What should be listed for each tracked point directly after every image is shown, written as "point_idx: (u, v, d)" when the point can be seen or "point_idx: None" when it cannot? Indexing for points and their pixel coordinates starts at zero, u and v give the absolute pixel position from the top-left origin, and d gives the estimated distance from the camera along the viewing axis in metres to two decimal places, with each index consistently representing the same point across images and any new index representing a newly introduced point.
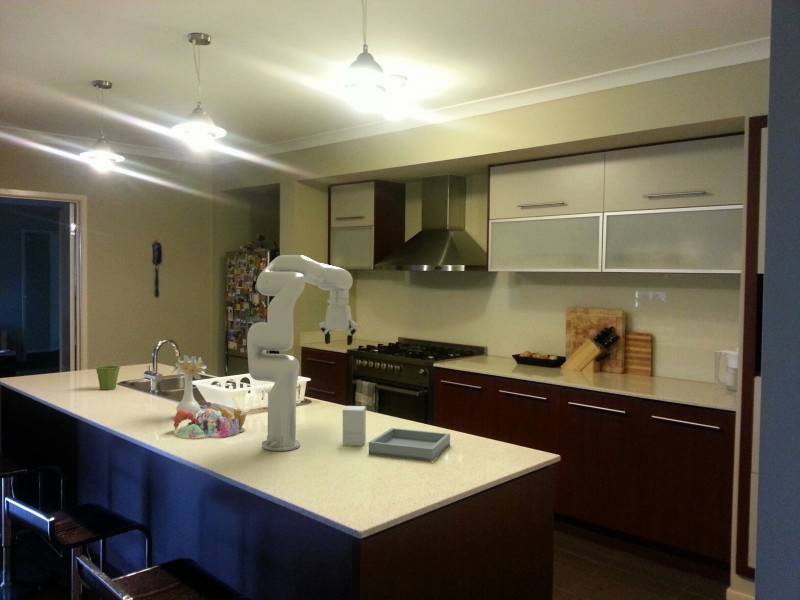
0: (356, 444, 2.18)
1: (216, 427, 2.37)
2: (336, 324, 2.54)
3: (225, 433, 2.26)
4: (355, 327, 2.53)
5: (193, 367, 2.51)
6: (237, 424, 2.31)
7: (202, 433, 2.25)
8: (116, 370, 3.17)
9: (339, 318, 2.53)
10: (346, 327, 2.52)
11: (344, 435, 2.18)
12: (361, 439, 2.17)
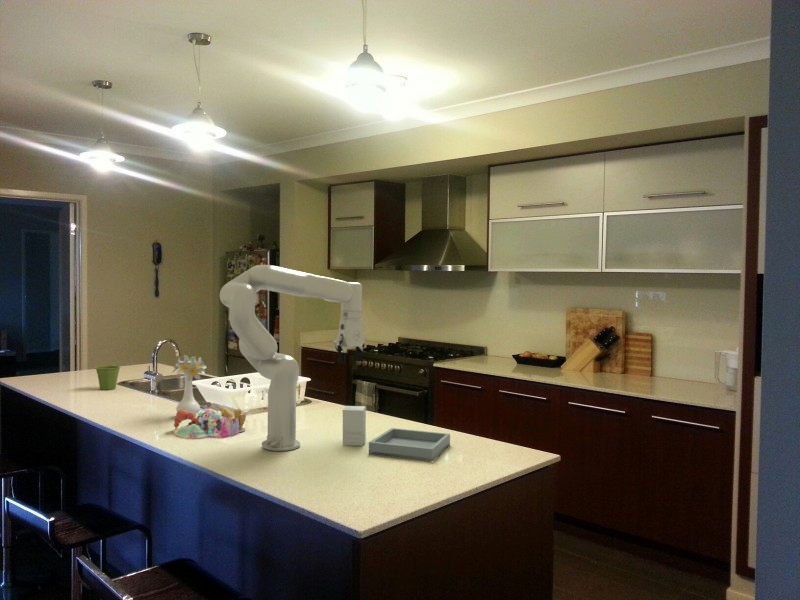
0: (356, 444, 2.18)
1: (216, 427, 2.37)
2: (356, 340, 2.29)
3: (225, 433, 2.27)
4: (364, 341, 2.37)
5: (193, 367, 2.51)
6: (237, 424, 2.31)
7: (202, 433, 2.25)
8: (116, 370, 3.17)
9: (359, 332, 2.30)
10: (363, 342, 2.33)
11: (344, 435, 2.18)
12: (361, 439, 2.17)
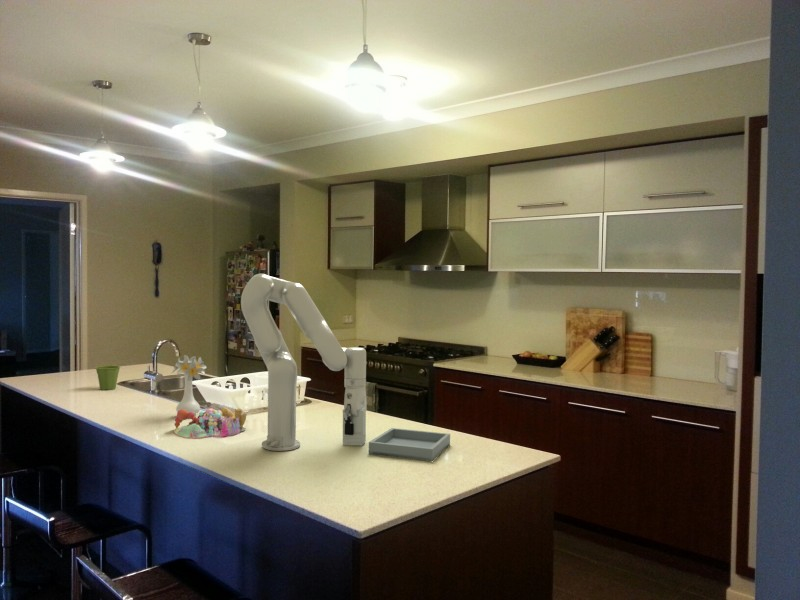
0: (356, 444, 2.18)
1: (217, 426, 2.38)
2: None
3: (226, 432, 2.27)
4: None
5: (193, 367, 2.51)
6: (238, 423, 2.32)
7: (203, 432, 2.26)
8: (116, 370, 3.17)
9: (363, 400, 2.21)
10: (366, 408, 2.24)
11: (344, 435, 2.18)
12: (361, 439, 2.17)
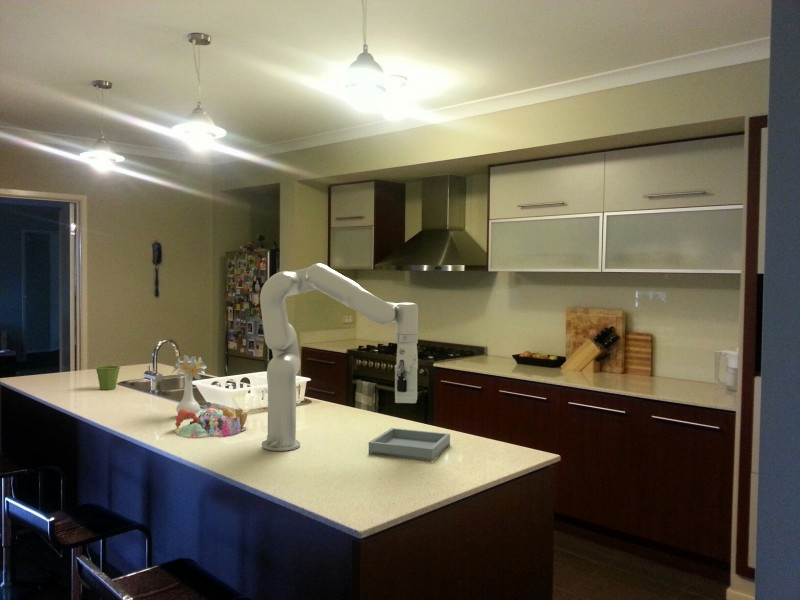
0: (409, 401, 2.11)
1: (218, 426, 2.38)
2: (414, 364, 2.14)
3: (227, 432, 2.28)
4: None
5: (193, 367, 2.51)
6: (239, 423, 2.33)
7: (204, 432, 2.27)
8: (116, 370, 3.17)
9: (415, 356, 2.15)
10: None
11: (396, 392, 2.11)
12: (414, 396, 2.11)
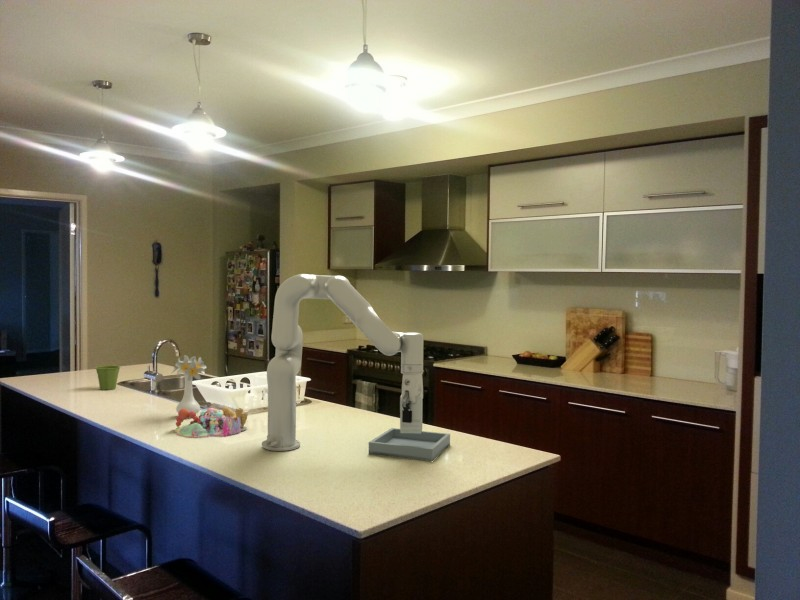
0: (414, 432, 2.10)
1: (218, 426, 2.39)
2: None
3: (227, 432, 2.28)
4: None
5: (193, 367, 2.51)
6: (239, 423, 2.33)
7: (204, 432, 2.27)
8: (116, 370, 3.17)
9: (420, 386, 2.14)
10: None
11: (402, 423, 2.11)
12: (419, 427, 2.10)
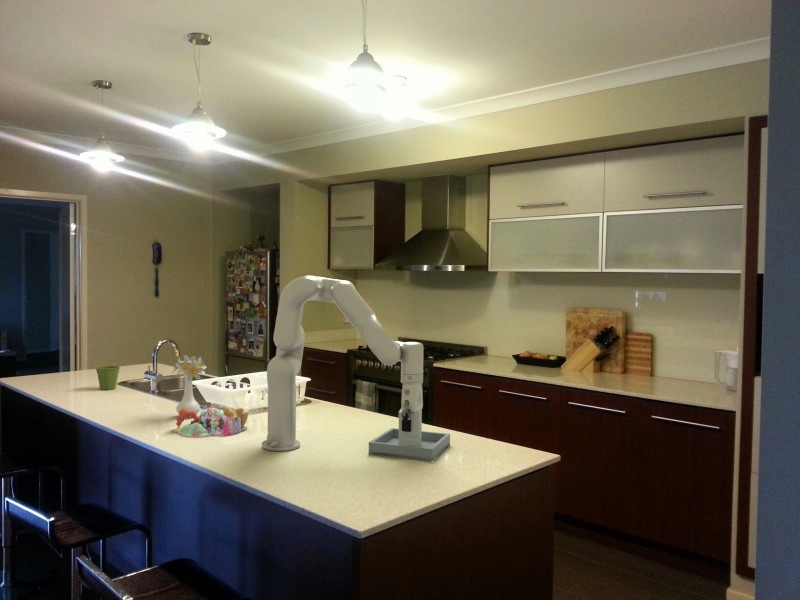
0: None
1: (218, 426, 2.39)
2: (419, 404, 2.13)
3: (228, 432, 2.29)
4: None
5: (193, 367, 2.51)
6: (239, 423, 2.33)
7: (205, 432, 2.27)
8: (116, 370, 3.17)
9: (420, 396, 2.14)
10: None
11: (400, 438, 2.11)
12: (418, 442, 2.10)
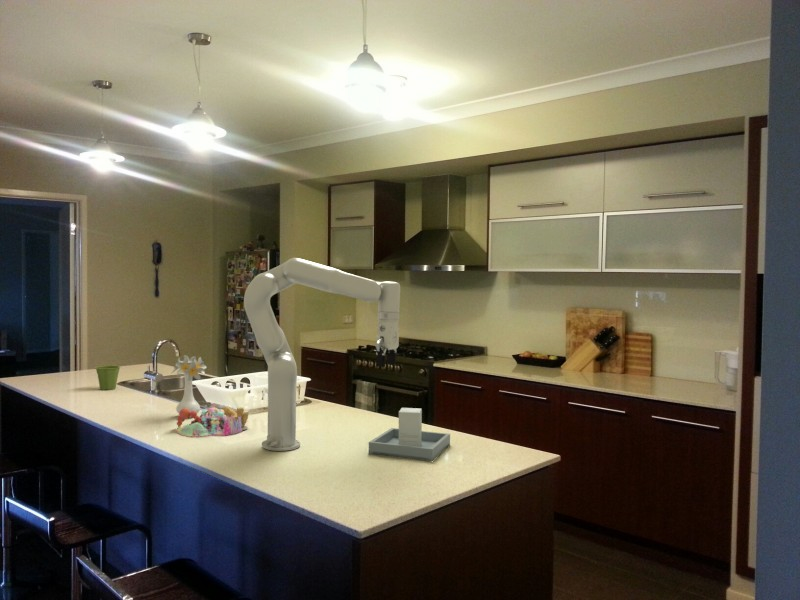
0: None
1: (219, 425, 2.40)
2: (394, 342, 2.20)
3: (228, 431, 2.29)
4: None
5: (193, 367, 2.51)
6: (240, 422, 2.34)
7: (206, 431, 2.28)
8: (116, 370, 3.17)
9: (396, 334, 2.21)
10: (398, 344, 2.24)
11: (400, 438, 2.11)
12: (418, 442, 2.10)
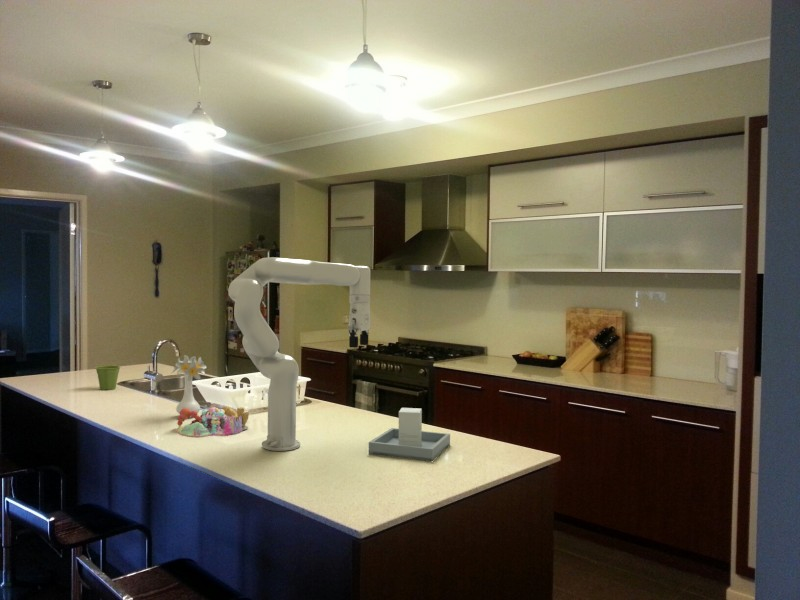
0: None
1: (219, 425, 2.40)
2: (366, 323, 2.30)
3: (229, 431, 2.30)
4: None
5: (193, 367, 2.51)
6: (240, 422, 2.34)
7: (206, 431, 2.28)
8: (116, 370, 3.17)
9: (368, 316, 2.31)
10: (370, 325, 2.34)
11: (400, 438, 2.11)
12: (418, 442, 2.10)
